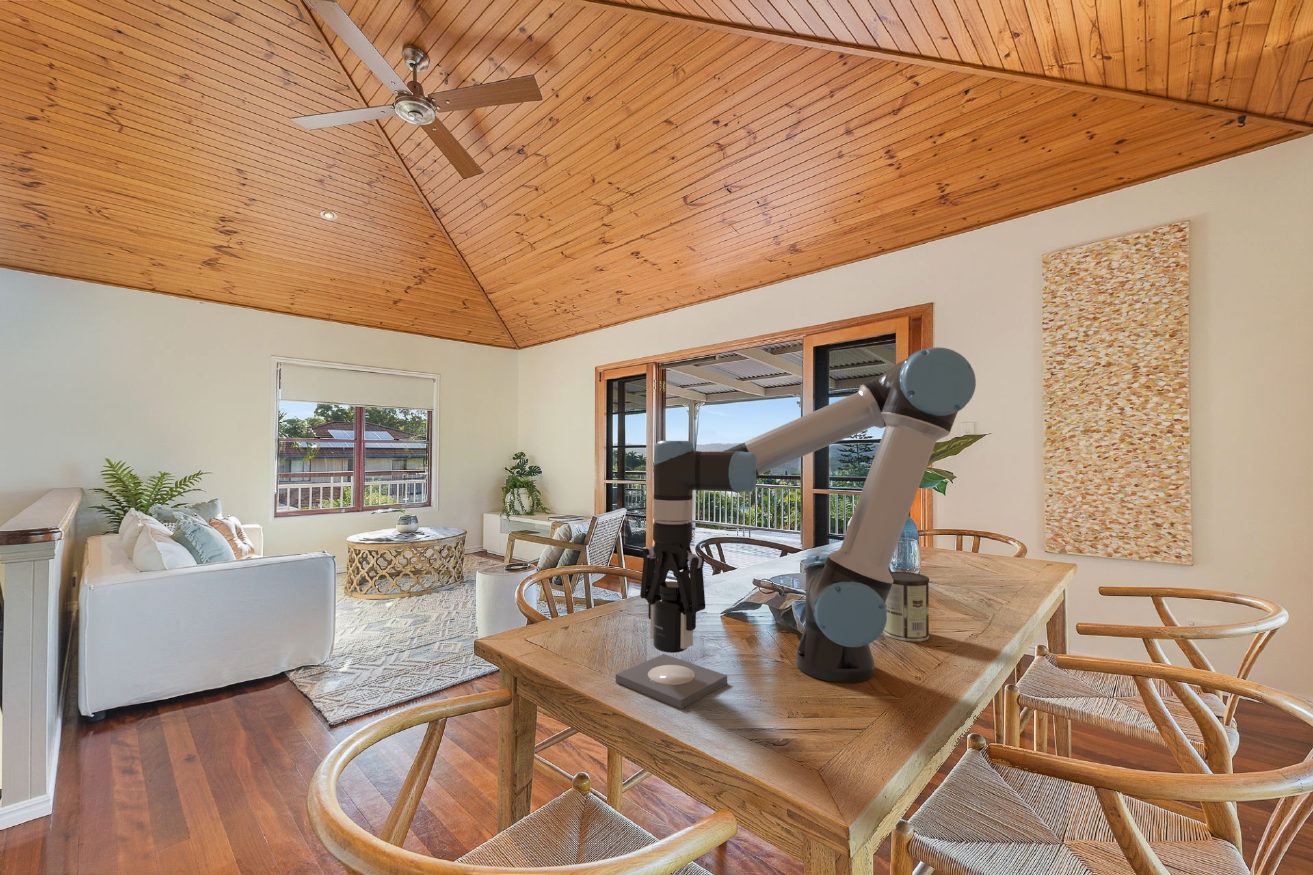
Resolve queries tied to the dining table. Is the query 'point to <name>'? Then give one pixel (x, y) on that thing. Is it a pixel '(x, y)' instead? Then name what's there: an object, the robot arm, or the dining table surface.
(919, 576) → the coffee can
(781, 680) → the dining table surface
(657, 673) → the board
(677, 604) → the supplement bottle
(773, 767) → the dining table surface
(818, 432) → the robot arm
